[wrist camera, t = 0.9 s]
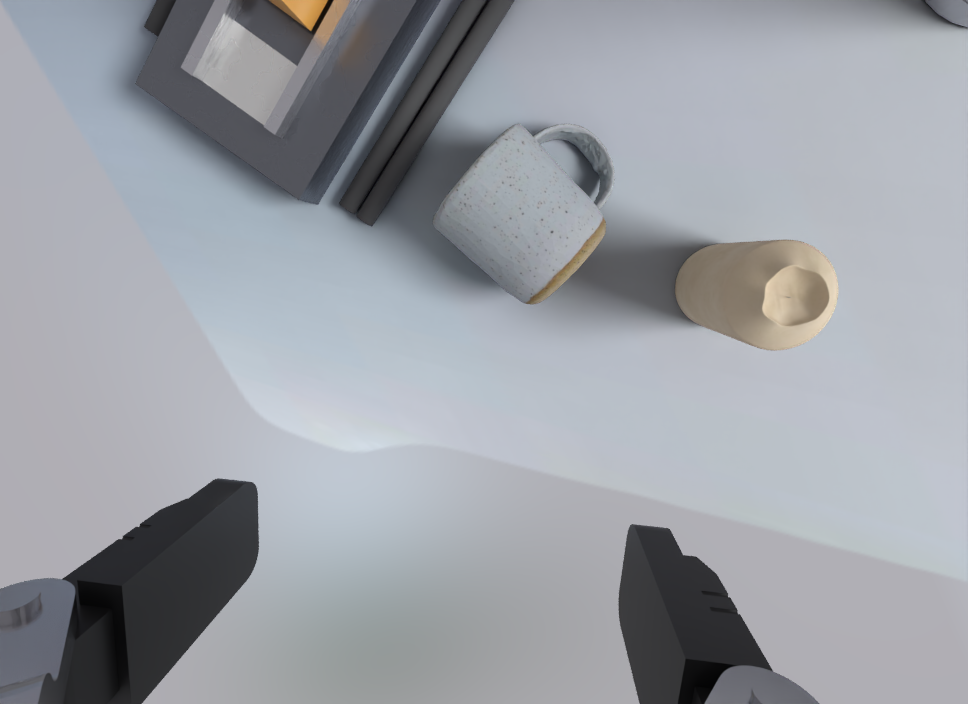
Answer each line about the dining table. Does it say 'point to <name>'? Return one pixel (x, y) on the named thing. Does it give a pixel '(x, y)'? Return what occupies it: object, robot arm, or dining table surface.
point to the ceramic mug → (527, 211)
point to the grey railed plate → (408, 101)
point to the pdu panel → (282, 79)
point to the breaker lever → (302, 10)
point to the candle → (759, 291)
